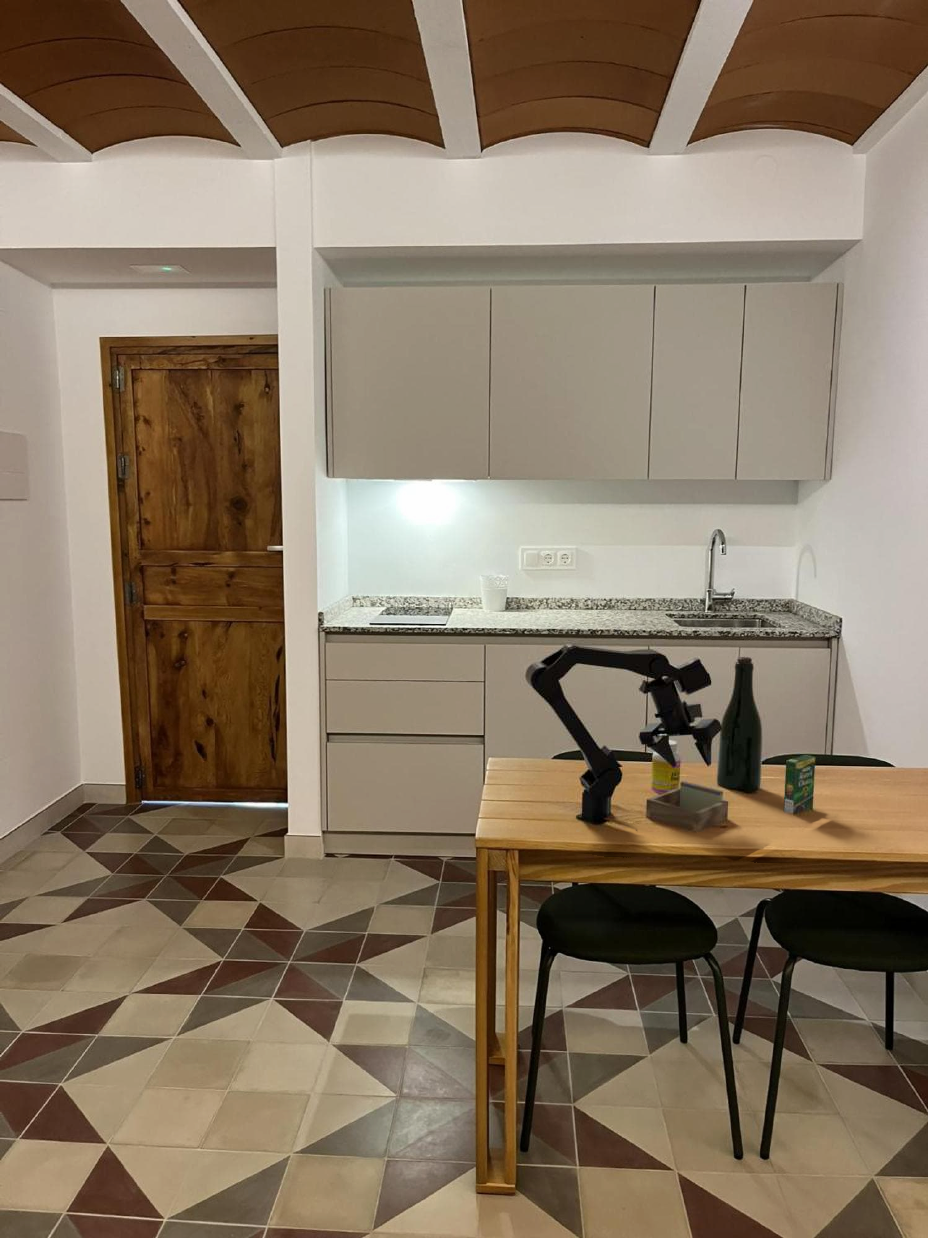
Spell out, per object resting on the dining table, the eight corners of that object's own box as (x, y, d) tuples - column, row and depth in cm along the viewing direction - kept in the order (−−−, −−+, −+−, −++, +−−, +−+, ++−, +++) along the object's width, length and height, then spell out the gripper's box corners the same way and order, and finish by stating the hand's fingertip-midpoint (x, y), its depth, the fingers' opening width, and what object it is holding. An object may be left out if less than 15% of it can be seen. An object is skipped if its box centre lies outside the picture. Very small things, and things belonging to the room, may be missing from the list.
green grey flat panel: (719, 818, 200) (720, 792, 200) (679, 807, 208) (680, 782, 207) (721, 817, 201) (723, 791, 200) (682, 806, 209) (683, 781, 208)
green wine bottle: (755, 797, 219) (762, 662, 214) (711, 790, 224) (717, 658, 220) (764, 786, 228) (771, 656, 224) (722, 779, 233) (727, 652, 229)
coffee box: (793, 819, 204) (796, 762, 202) (781, 815, 206) (785, 759, 204) (813, 812, 208) (817, 756, 207) (802, 809, 211) (805, 753, 209)
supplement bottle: (671, 799, 216) (673, 747, 215) (646, 794, 220) (648, 742, 219) (683, 792, 222) (685, 741, 220) (658, 787, 226) (660, 737, 224)
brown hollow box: (697, 836, 192) (698, 814, 191) (645, 821, 201) (646, 799, 201) (727, 823, 200) (728, 801, 200) (676, 809, 210) (677, 788, 209)
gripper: (721, 683, 200) (744, 746, 202) (652, 691, 214) (674, 750, 216) (697, 706, 192) (721, 771, 195) (627, 712, 206) (651, 773, 209)
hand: (691, 765), depth 204 cm, fingers open, 9 cm apart
